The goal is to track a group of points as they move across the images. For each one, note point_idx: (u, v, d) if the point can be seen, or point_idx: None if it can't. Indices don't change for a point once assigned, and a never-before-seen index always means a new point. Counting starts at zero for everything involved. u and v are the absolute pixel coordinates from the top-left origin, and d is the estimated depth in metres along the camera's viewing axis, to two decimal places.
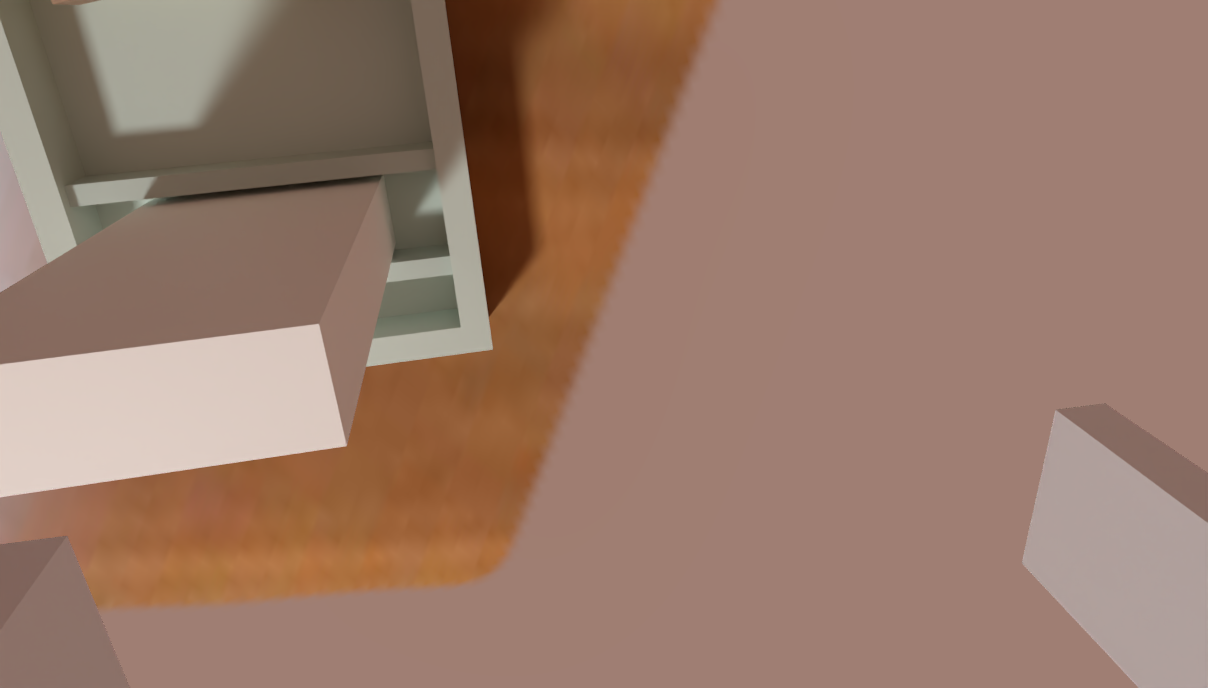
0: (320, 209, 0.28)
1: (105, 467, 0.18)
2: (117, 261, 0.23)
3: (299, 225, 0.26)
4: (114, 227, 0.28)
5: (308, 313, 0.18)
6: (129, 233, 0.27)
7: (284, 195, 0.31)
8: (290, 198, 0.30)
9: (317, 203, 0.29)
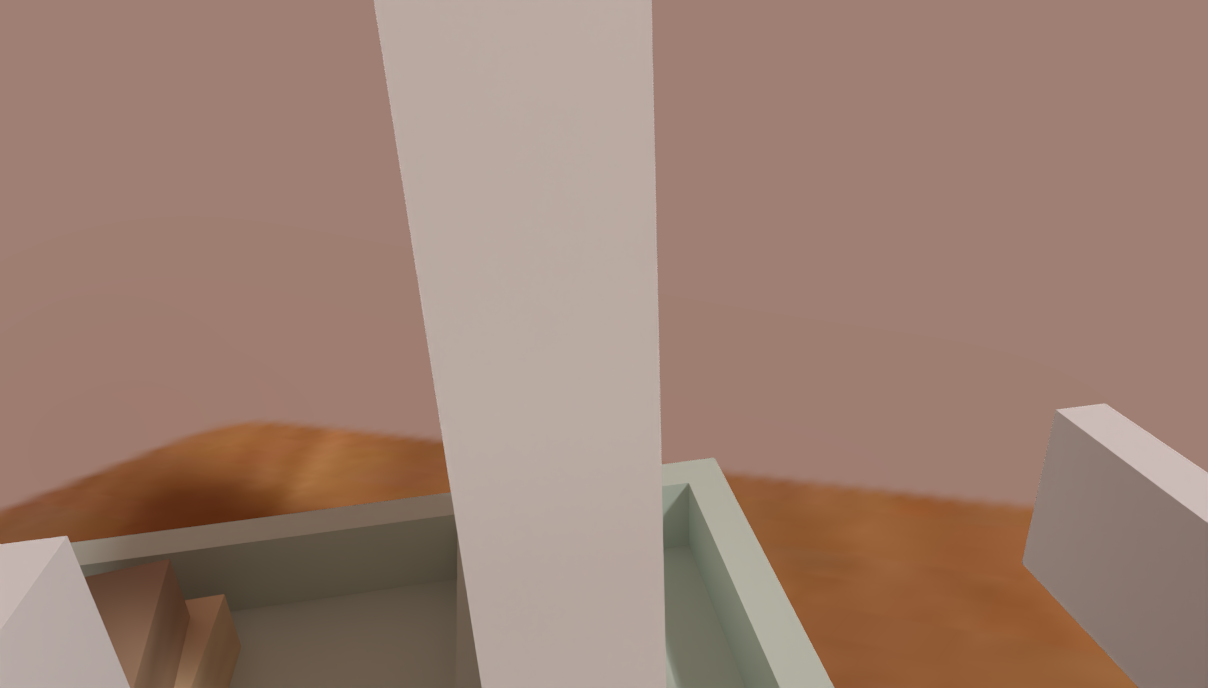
0: None
1: None
2: None
3: None
4: None
5: None
6: None
7: None
8: None
9: None
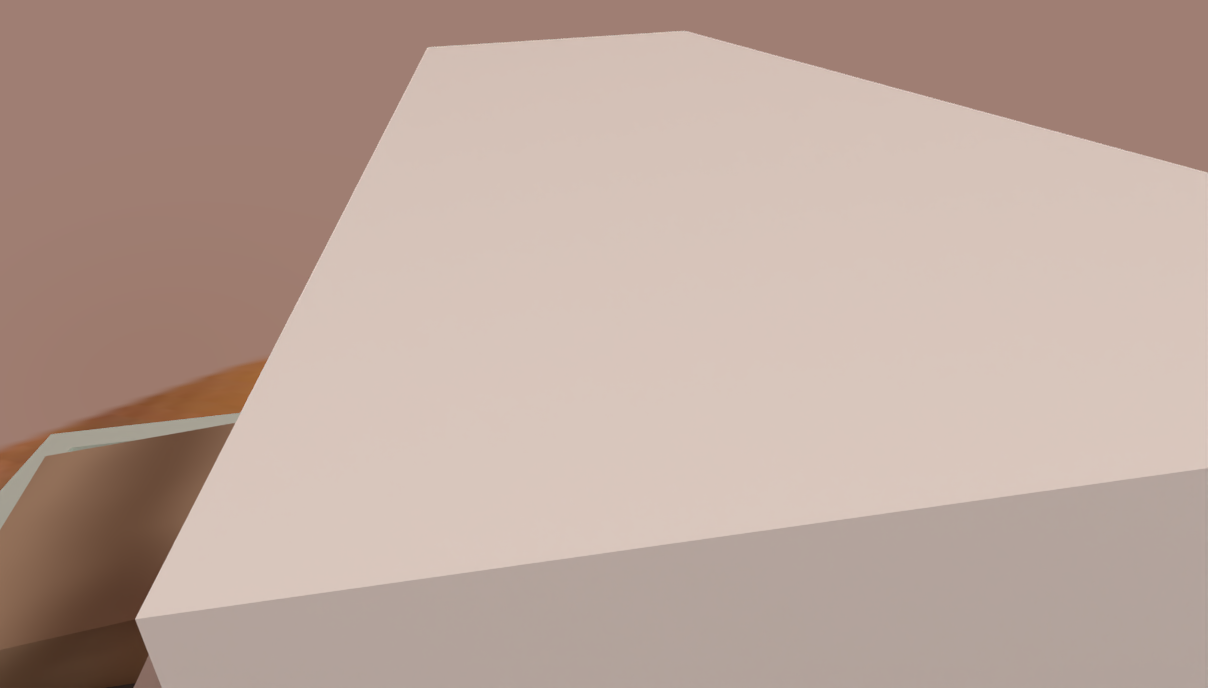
0: None
1: (833, 89, 0.05)
2: None
3: None
4: None
5: None
6: None
7: None
8: None
9: None
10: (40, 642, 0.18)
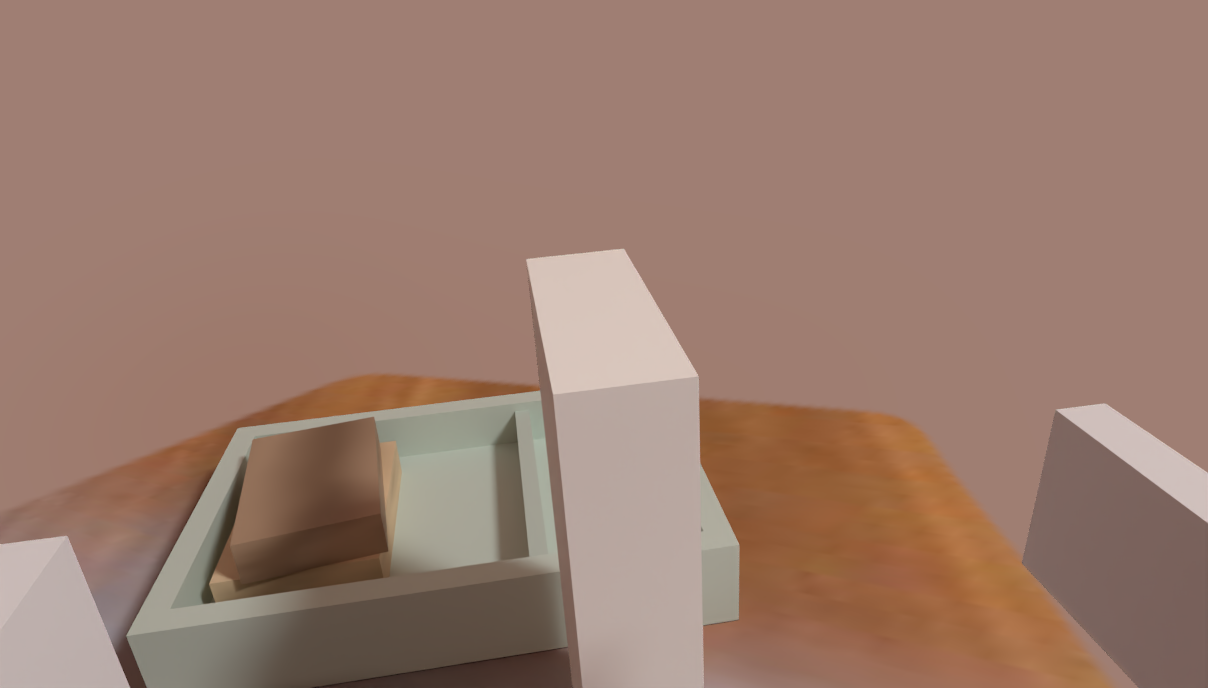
0: None
1: (644, 309, 0.20)
2: (572, 617, 0.21)
3: (560, 562, 0.27)
4: None
5: (529, 287, 0.24)
6: None
7: None
8: None
9: (568, 636, 0.28)
10: (292, 533, 0.33)
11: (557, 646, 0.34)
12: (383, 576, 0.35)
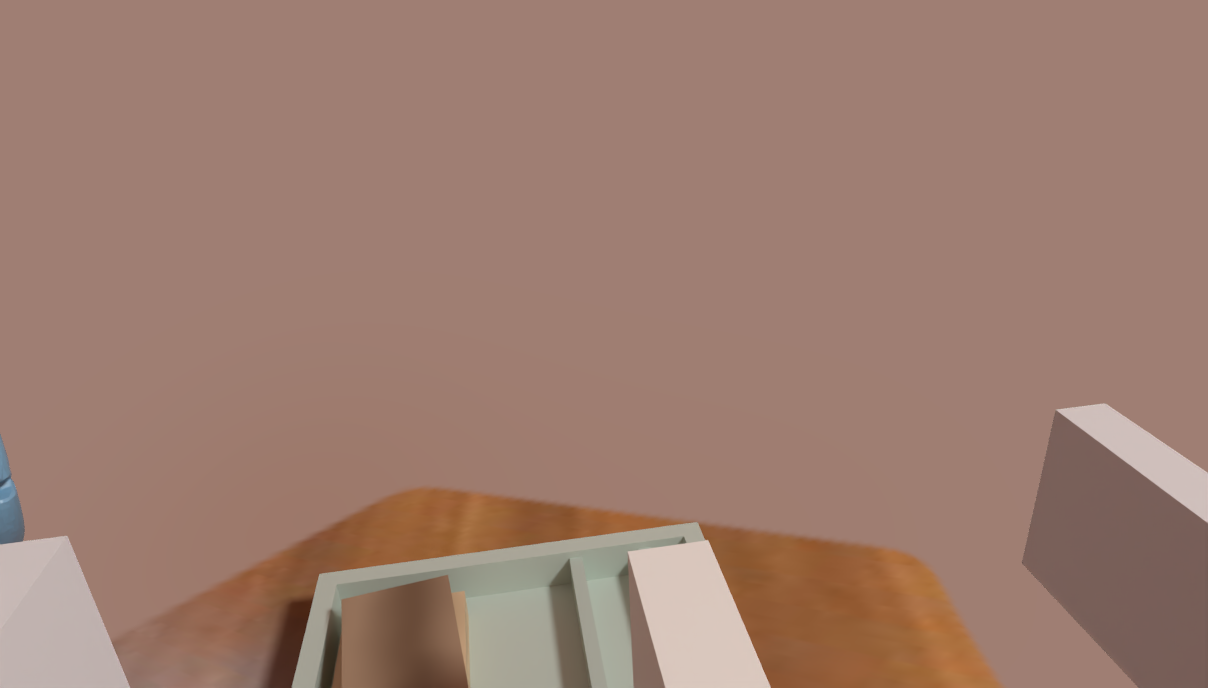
0: None
1: (741, 645, 0.25)
2: None
3: None
4: None
5: (629, 574, 0.29)
6: None
7: None
8: None
9: None
10: None
11: None
12: None
